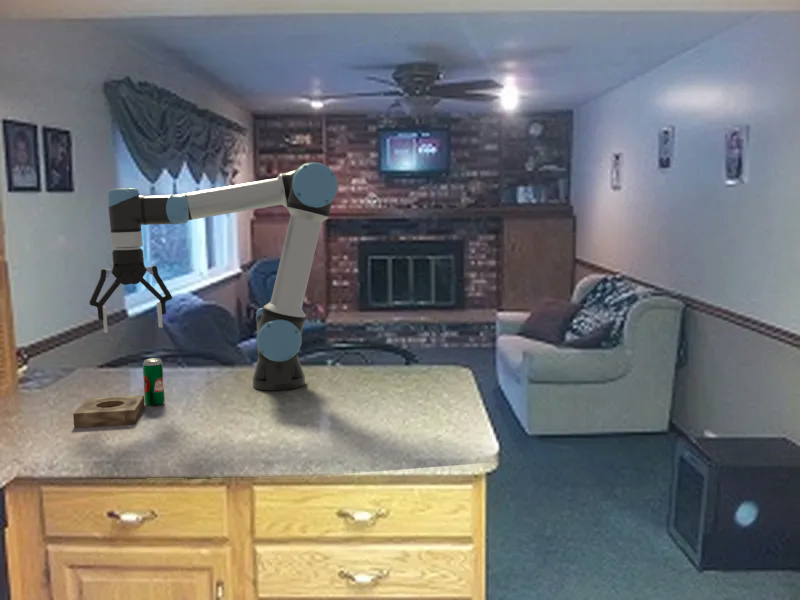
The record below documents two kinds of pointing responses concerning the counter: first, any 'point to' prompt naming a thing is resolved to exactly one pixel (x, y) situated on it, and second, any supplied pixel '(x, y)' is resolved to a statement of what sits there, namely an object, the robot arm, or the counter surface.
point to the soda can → (153, 382)
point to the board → (109, 411)
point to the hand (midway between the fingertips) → (133, 329)
